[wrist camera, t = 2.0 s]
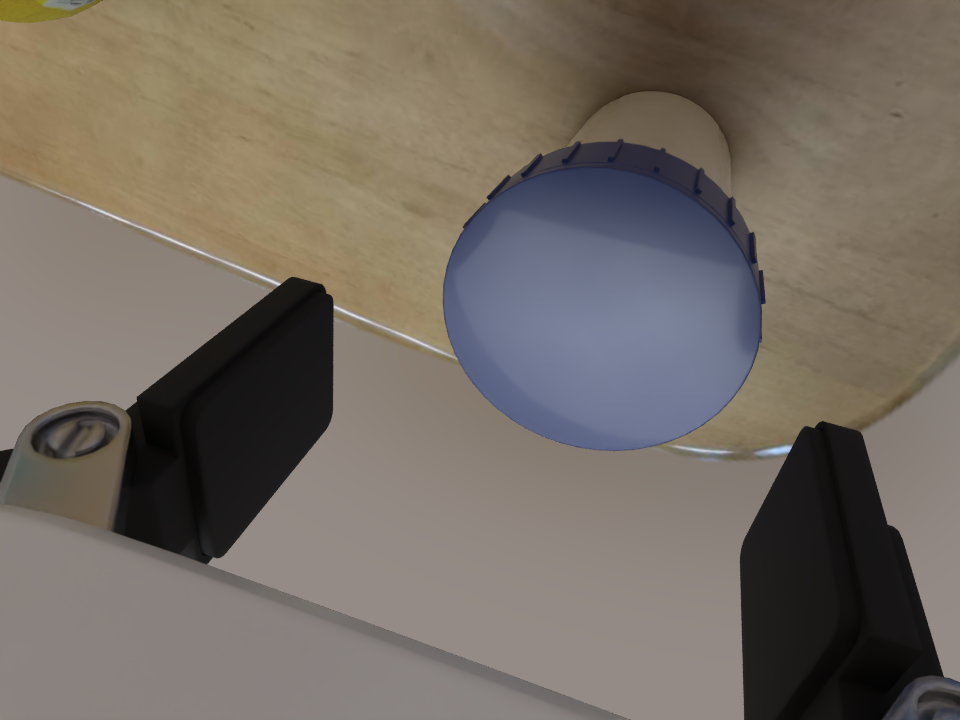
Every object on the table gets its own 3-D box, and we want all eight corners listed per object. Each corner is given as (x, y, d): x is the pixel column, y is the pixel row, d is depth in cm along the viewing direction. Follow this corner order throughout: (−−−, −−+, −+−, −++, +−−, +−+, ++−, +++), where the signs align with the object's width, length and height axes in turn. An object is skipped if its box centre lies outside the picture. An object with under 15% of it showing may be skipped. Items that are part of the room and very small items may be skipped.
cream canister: (756, 109, 21) (772, 229, 13) (701, 267, 24) (683, 449, 16) (585, 75, 22) (489, 163, 14) (553, 231, 25) (459, 382, 17)
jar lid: (813, 178, 13) (824, 211, 12) (705, 437, 17) (701, 488, 16) (487, 108, 15) (456, 129, 13) (454, 363, 19) (428, 404, 17)
